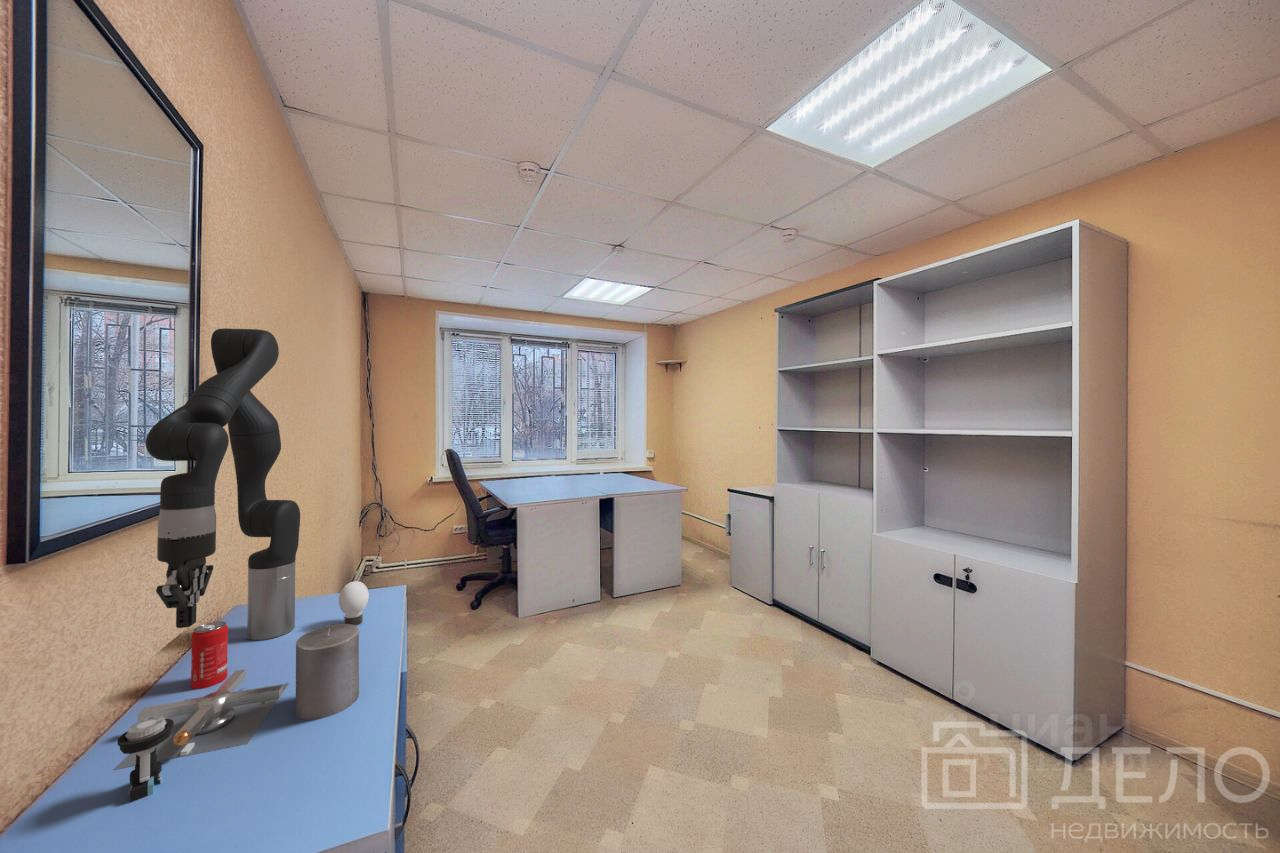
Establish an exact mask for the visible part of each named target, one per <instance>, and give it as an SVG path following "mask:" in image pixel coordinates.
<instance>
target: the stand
mask: <svg viewBox="0 0 1280 853" xmlns="http://www.w3.org/2000/svg"><path fill="white" fill-rule="evenodd" d="M289 684H290V682H288V683H287V682H286V683H281V684H276V685H275V684H274V685H269V686H263V687H257V688H249V689H245V690H244V689H243V690H237V691H233V692H232V693H237V692H243V691H250V690H256V689H262V688H268V687H275V686H281V685H283V693H284V692H285V691H286V689H287V687H288V686H289ZM202 697H203V696H201V697H200V696H199V697H194V698H188V699H184V700H183V701H187V700H194V699H200V698H202ZM278 701H279V699H276V700H270V701H264V702H258V703H252V704H246V705H240V706H234V707H231V708H233V709H234V710H235V714H234V719H233V720H232V721H231V722H230V723H229V724H228V725H226V726H225V727H223V728H221V729H219V730H216V731H214V732H211V733H208V734H204V735H199V736H194V737H193V738H192V739H191V740H190V741H189V742H188V743H186V744H184V745H181V746H176V745H175V746H174V743H173V739H174V737H175V734H176V733H177V732H178V731H179V730H180V729H181V728H182V727H183V726H184V725H185V724H186V723H187V722H188V720H189V719H190V718H191V717H192V716H193V715H194V714H195V713H193V714H187V715H181V716H175V717H169V718H165V719H171V720H173V722H174V725H173V727H172V729H171V735H170V736H169V737H168V738H167V739H166V740H164V741H163V742H162V743H161V744H159V745H158V746H156V747H155V748H156V755H157V762H158V761H161V762H163V761H167V760H172V759H177V758H178V759H179V758H183V757H188V756H194V755H199V754H203V753H209V752H214V751H218V750H219V751H220V750H224V749H225V750H226V749H229V748H234V747H239V746H243V745H244V746H245V745H248V744H249V742H250V741H251V739H252V738H253V737H254V735H255V734H256V732H257V731H258V729H259V728H260V727H261V725H262V723H263V722H264V721H265V719H266V718H267V717H268V715H269V714H270V712H271V710H272V709H273V707H275V705H276V703H277V702H278ZM136 755H137V754H127V755H126V757H125V758H124V759H123V760H122V761H120V762H119V764H118V765H116V766H115V767H114V768H113V771H116V770H120V769H121V770H122V769H127V768H132V767H135V765H136Z"/></svg>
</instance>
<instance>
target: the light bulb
mask: <svg viewBox="0 0 1280 853" xmlns="http://www.w3.org/2000/svg"><path fill="white" fill-rule="evenodd" d="M369 598H370V594H369V589H368V587H367V586H366V584H365V583H363V582H361V581H360V580H359V581H357V580H355V581H354V580H353V581H351V582H349V583H347V584H346V585H345V586H344V587H343V588H342V589H341V591H340V593H339V597H338V607H339V609H340V610H341V612H342V613H343V614H344V617H343V624H351V625H355V626H357V625H361V624H362V623H363V615H364V614H363V613H364V612H363V611H364V610H365V608H366V607H367V605H368V602H369Z"/></svg>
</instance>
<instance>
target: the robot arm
mask: <svg viewBox="0 0 1280 853" xmlns="http://www.w3.org/2000/svg"><path fill="white" fill-rule="evenodd" d="M210 349H211V350H210V351H211V355H212V360H213V363H214V367H215V371H216V374H215V375H212V376H211V377H208V378H207V379H206V380H204V381H203V382H202V383H200V384H199V385H198V386H197V387H196V389H195V390H194V391H193V392H192V394H191V395H190V397H189V398H188V399H187V401H186V403H185V404H183V405H182V406H180V407H178V408H176V409H175V410H173V411H172V412H171V413H169V414H168V415H166V416H164V417H163V418H161V419H160V420H158V421H157V422H156V423H155V424H153V426H152V427H151V429H150V430H149V432H148V433H147V436H146V437H145V438H146V439H145V448H146V451H147V452H148V454H149V455H150V456H151V457H153V458H154V459H156V460H158V461H165V462H187V461H188V462H190V461H191V462H193V461H194V462H196V463H195V465H194V467H193V468H192V469H191V470H190V471H188V472H184V473H177V474H172V475H168V476H166V477H164V478H163V479H162V480H161V482H160V488H159V489H160V494H159V495H160V496H159V497H160V498H159V499H160V500H159V502H160V503H159V508H160V509H159V515H158V520H157V542H156V543H157V544H156V546H157V548H156V549H157V550H156V551H157V552H156V556H157V557H156V559H157V561H159V562H161V563H166V564H167V565H168V566H167V568H166V569H167V570H166V574H165V575H166V582H165V583H164V584H163V585H157V587H156V589H155V591H156V594H157V595H158V597H159V598H160V599H161V601H162V602H163V604H164V605H165V607H166V609H175V610H176V611H175V612H176V613H175V617H176V618H175V627H176V628H177V629H183V628H190V627H191V626H193V625H194V624H196V623H197V604H198V603H199V601H200V598H201V597H203V596H204V595H205V594H206V591H207V587H208V584H209V582H210V579H211V576H212V573H213V571H214V565H213V564H209V565H208V564H207V559H206V558H207V557H210V556H212V555H213V554H215V553H216V550H217V549H216V548H217V547H216V546H217V513H216V509H215V508H216V506H215V503H216V501H215V500H216V497H215V495H216V493H215V492H216V481H217V477H218V474H219V472H220V468H221V465H222V462H223V460H224V457H225V455H226V452H228V451H227V450H228V447H229V443H230V449H231V453H232V456H233V463H234V469H235V478H236V485H237V486H236V487H237V488H236V489H237V492H236V493H237V514H238V515H237V517H238V523H239V528H240V530H241V532H242V533H243V535H245V536H246V537H249V538H270V541H269V542H270V543H269V546H268V547H266V548H264V549H261V550H258V551H255V552H253V553H251V554H250V555H249V556H248V560H247V561H248V562H247V622H246V623H247V625H246V626H247V627H246V628H247V631H246V632H247V633H246V634H247V636H246V637H247V639H249V640H250V641H260V640H261V641H263V640H264V641H265V640H269V639H274V638H277V637H280V636H283V635H286V634H287V633H290V632H292V631H293V630H294V629H295V625H296V623H295V622H296V620H295V619H296V615H295V614H296V556H297V551H298V548H299V542H300V540H299V538H300V526H301V511H300V507H299V505H298V504H297V502H296V501H294V500H290V499H267V494H266V479H267V477H268V475H269V473H270V471H271V469H272V468H273V467H274V464H275V462H277V459H278V458H279V455H280V452H281V451H282V440H281V433H280V426H279V421H278V420H277V418H276V417H275V416H274V415H273V414H272V413H271V411H270V410H269V409H268V408H267V407H266V406H265V405H264V404H263V403H262V402H261V401H260V400H259V399H258V398H257V397H256V396H255V395H254V393H253V392H252V388H254V387H255V386H256V385H257V384H258V383H259V382H260V381H261V380H262V379H263V378H264V377H265V376H266V375H267V374H268V373H269V372H270V371H271V370H272V368H273V367H274V366H275V365H276V363H277V362H278V360H279V355H280V353H279V352H280V350H279V344H278V341H277V339H276V337H275V336H274V335H273V333H271V331H270V332H269V331H268V330H264V329H256V328H255V329H254V328H217V329H215V330H214V331H213V332H212V335H211V338H210ZM226 425H227V428H228V432H227V431H226V429H225V428H224V427H225V426H226Z"/></svg>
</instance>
